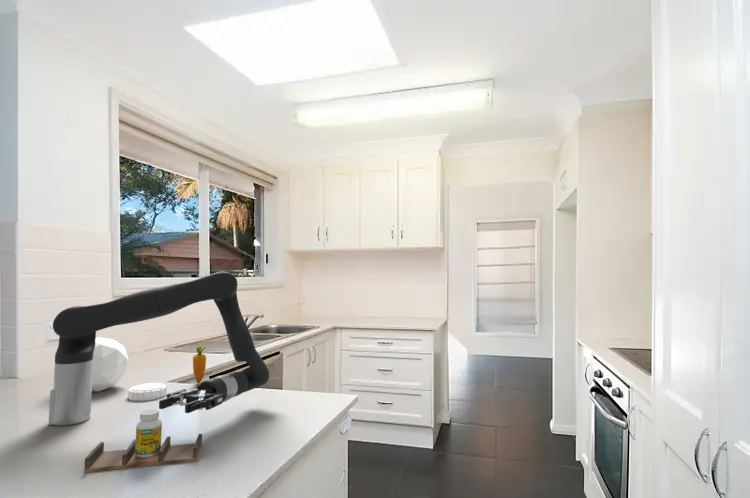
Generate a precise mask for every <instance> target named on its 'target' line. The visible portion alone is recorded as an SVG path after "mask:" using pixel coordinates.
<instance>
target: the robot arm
mask: <svg viewBox="0 0 750 498" xmlns="http://www.w3.org/2000/svg"><path fill="white" fill-rule="evenodd" d="M237 291H238V279H237V278H236V276H235V275H234V274H232V273H231V272H228V271H218V272H215V273H212V274H208V275H205V276H202V277H199V278H196V279H193V280H190V281H183V282H180V283H179V282H178V283H173V284H168V285H163V286H157V287H154V288H149V289H144V290H141V291H138V292H134V293H130V294H127V295H125V296H122V297H119V298H117V299H114V300H111V301H108V302H103V303H97V304H91V305H86V306H85V305H75V306H71V307H68V308H65V309H63V310H62V311H60V312H59V313H58V314H57V315H56V317H55V318H54V320H53V323H52V329H53V331H54V333H55V334H56V335H57V336H59V338H58V345H57V348H56V352H55V354H54V369H53V370H54V375H53V389H51V390H50V391H49V404H48V405H49V406H48V408H49V409H48V410H49V411H48V425H52V426H53V425H54V426H69V425H75V424H80V423H83V422H85V421H88V420H90V418H91V413H92V392H93V391H92V371H93V353H94V349H95V339H96V338H97V332H99V331H101V330H104V329H108V328H111V327H115V326H121V325H127V324H132V323H137V322H138V323H139V322H144V321H149V320H153V319H157V318H161V317H164V316H167V315H169V314H170V315H171V314H173V313H175V312H178V311H180V310H182V309H184V308H186V307H188V306H191V305H193V304H197V303H200V302H206V301H211V300H213V302H214V303H215V305H216V307H217V309H218V312H220V313H219V314H220V317H221V318H222V322H223V324H224V327H225V332H226V335H227V339H228V343H229V344H230V345H229V346H230V348H231V352H232V354H233V357H234V359H235V361H236V362H238V363H242V362H245V363H246V364H247V365H248V367H245V368H244V369H240V370H239V371H233V372H230V373H227V374H222V375H217V376H215V377H212V378H209V379H206V380H203V381H201V382H200V383H199V384H198V386H197V388H194V389H193V388H192V389H191V390H187V389H186V388H182V389H180V390H176V391H173V392H170V393H167V394H166V398H163V399H160V400H159V401H158V402H159V403H158V410H164V409H167V408H170V407H173V406H177V405H178V406H181V407H184V413H185V414H190V413H192V412H195V411H197V410H203V409H205V410H206V411H209V410H211V409H213V408H216V407H217V406H220V405H222V404H223V403H226V402H227V401H229V400H231V399H232V398H235V397H238V396H240V395H242V394H243V393H244V394H245V393H246V392H249V391H252V390H254V389H257V388H259V387H261V386H264V385H265V384H267V383H268V382H269V381H270V369H269V368H268V366H267V364H266V363H265V361H264V360H263V359H262V356H261V355H260V354H259V353H258V351H257V349H256V346H255V344H254V341H253V338H252V334H251V332H250V330H249V328H248V325H247V323H246V321H245V318H244V317H243V315H242V312H241V311H242V310H241V308H240V306H239V300H238V294H237ZM184 400H185V402H184Z"/></svg>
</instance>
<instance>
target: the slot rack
mask: <svg viewBox="0 0 750 498" xmlns="http://www.w3.org/2000/svg"><path fill="white" fill-rule="evenodd" d="M171 438H172V437H171V435H170V436H169V435H168V436H166V438H164V439H165V440H164V441H163V443H162V444H161V448H160V450H159V452H158V454H157V455H155V456H152V457H147V458H139V457H137V456H136V455H135V445H136V438H135V439H133V441H132V442H131V443H130V444H129V446H128V447H127V448H126V449H118V450H117V449H116V450H107V451H106V450H105V451H104V449H105V448H104V447H105V442H104V441H99V443H98V444H97V445H96V446H95V447H94V448H93V449H92V450H91V451H90V453H88V455H86V457H85V458H84V469H83V473H85V474H86V473H93V472H95V473H96V472H104V471H113V470H115V471H116V470H124V469H125V470H126V469H133V468H143V467H144V468H145V467H154V466H162V465H163V466H164V465H165V466H166V465H173V464H181V463H192V462H193V463H194V462H197V461H198V460H199V456H200V453H201V450H202V447H203V433H198V435H197V438H196V440H195V442H193V443H184V444H183V443H182V444H171Z"/></svg>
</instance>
